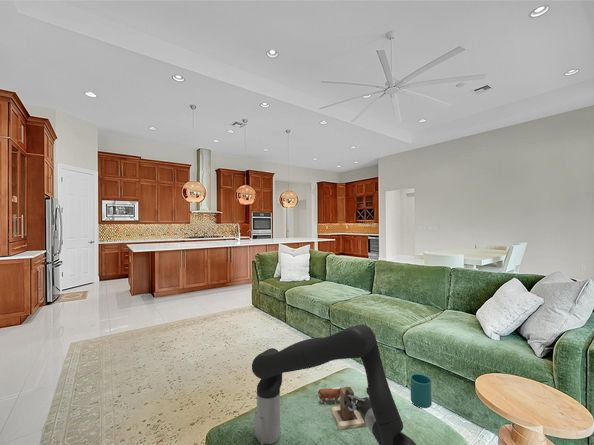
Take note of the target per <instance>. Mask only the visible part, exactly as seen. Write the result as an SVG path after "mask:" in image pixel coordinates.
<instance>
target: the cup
mask: <svg viewBox="0 0 594 445" xmlns="http://www.w3.org/2000/svg"><path fill="white" fill-rule="evenodd" d="M432 390H433V389H432V379H431V378H430V377H429V376H427V375H425V374H421V373H413V374H411V375H410V401H411V403H412V404H413V405H414V406H415V407H418V408H421V409H429V408H431V407H432V405H433V404H432V402H433V399H432V398H433V397H432Z"/></svg>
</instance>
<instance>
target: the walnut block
mask: <svg viewBox="0 0 594 445" xmlns="http://www.w3.org/2000/svg"><path fill="white" fill-rule="evenodd" d="M341 387H342V388H340V398H339V400H340V404H339V406H340V416H341V418H342V420H343V421H349V420H354V411H353V413H350V412H349V411H348V409H347V408H346V406H345V405H344V396H345V391H346V390H348V391H349V392H350V394H351V396H355V391H354V390H353V389H352V387H351V386H341ZM351 401H353V400H352V399H351Z"/></svg>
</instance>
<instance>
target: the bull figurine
mask: <svg viewBox="0 0 594 445" xmlns="http://www.w3.org/2000/svg"><path fill="white" fill-rule="evenodd" d="M342 387H343V386H336V387H329V388H321V389H319V390H318V392H317V394H318V396H319V401H320V402H321V404H324V405H327V402H326V399H328V401H330V400H333V399H334V404H335V405H337V402H338V401H339V399H340V388H342Z"/></svg>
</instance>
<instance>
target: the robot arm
mask: <svg viewBox="0 0 594 445" xmlns="http://www.w3.org/2000/svg"><path fill="white" fill-rule="evenodd" d="M359 358H360V360H361V361H362V364H363V367H364V370H365V375H366V381H367V387H366V394H367V395H368V396H365V397H358V396H356V395H354V396H351V394H350V392H349V391H348V390H346V391H345V396H344V405H345V406H346V408H347V409H348V411H349V412H350V413H353V411H354V410H357V411H358V412H360V415H361V417H362V419H363V420H364V422H365V424H366V426H367V427H366V428H368V430H369V432H370V433H371V435H373V437H374V438H375V440H376V442H377V443H378V445H417V443H416V442H415V441H414V440H413V439H412V438H410V437H409V436H408V435H406V434H405V433H404V432H402V431H403V430H404V423H403V421H402V418H401V415H400V413H399V410H398V408H397V404H396V403H395V399H394V398H393V397H394V396H393V394H392V392H391V389H390V388H391V387H390V386H389V383H388V379H387V376H386V373H385V369H384V365H383V362H382V358H381V355H380V350H379V345H378V341H377V337H376V334H375V332H374V331H373V330H372V328H371V327H370V326H368V325H366V324H356V325H352V326H349V327H346V328H344V329H342V330H341V331H338V332H336V333H334V334H330V335H328V336H324V337H312V338H307V339H303V340H301V341H298V342H295V343H292V344H290V345H289V346H287V347H285V348H283V349H281V350H278V349H276V348H273V347H271V348H268V349H266V350H264V351H262V352H261V353H259V354H257V355H256V356H255V358H254V359H253V361H252V363H251V371H252V373H253V375H254V376H255V377H257V378H258V379H259V381H258V383H257V385H256V411H254V437H255V438H256V440H257V441H258V442H259V444H260V445H271V444H275V443H276V442H277V441H278V440H279V439H280V437H281V387H282V385H283V384H282V383H283V374H284V373H290V372H296V371H302V370H307V369H312V368H316V367H319V366H322V365H324V364H327V363H329V362H331V361H332V362H333V361H337V360H348V359H359ZM351 399H352V400H353V401H351Z"/></svg>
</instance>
